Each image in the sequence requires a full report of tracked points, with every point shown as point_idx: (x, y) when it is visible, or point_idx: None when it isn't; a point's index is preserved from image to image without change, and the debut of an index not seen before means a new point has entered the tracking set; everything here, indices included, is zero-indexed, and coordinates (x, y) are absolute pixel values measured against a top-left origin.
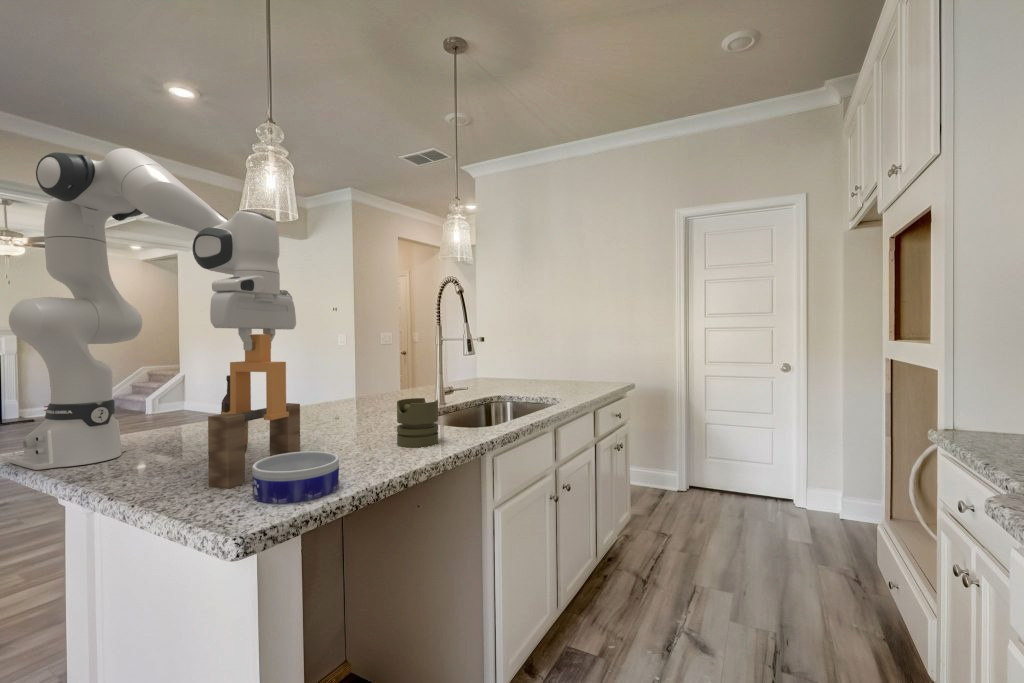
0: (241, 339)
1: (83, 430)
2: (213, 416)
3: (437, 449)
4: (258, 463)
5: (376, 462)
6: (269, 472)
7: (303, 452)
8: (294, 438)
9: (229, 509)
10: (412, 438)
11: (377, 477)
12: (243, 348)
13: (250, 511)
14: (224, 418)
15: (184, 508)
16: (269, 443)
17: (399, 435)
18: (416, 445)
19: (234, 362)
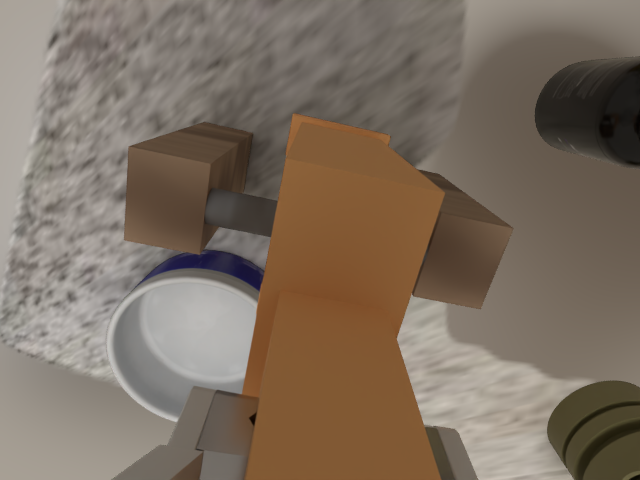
0: (130, 466)
1: None
2: (134, 167)
3: (526, 469)
4: (168, 284)
5: (418, 389)
6: (106, 345)
7: None
8: None
9: (91, 259)
10: (561, 442)
11: None
12: (191, 391)
13: (93, 300)
14: (125, 223)
15: (72, 171)
16: (577, 66)
17: (597, 411)
18: (550, 435)
19: (277, 205)
